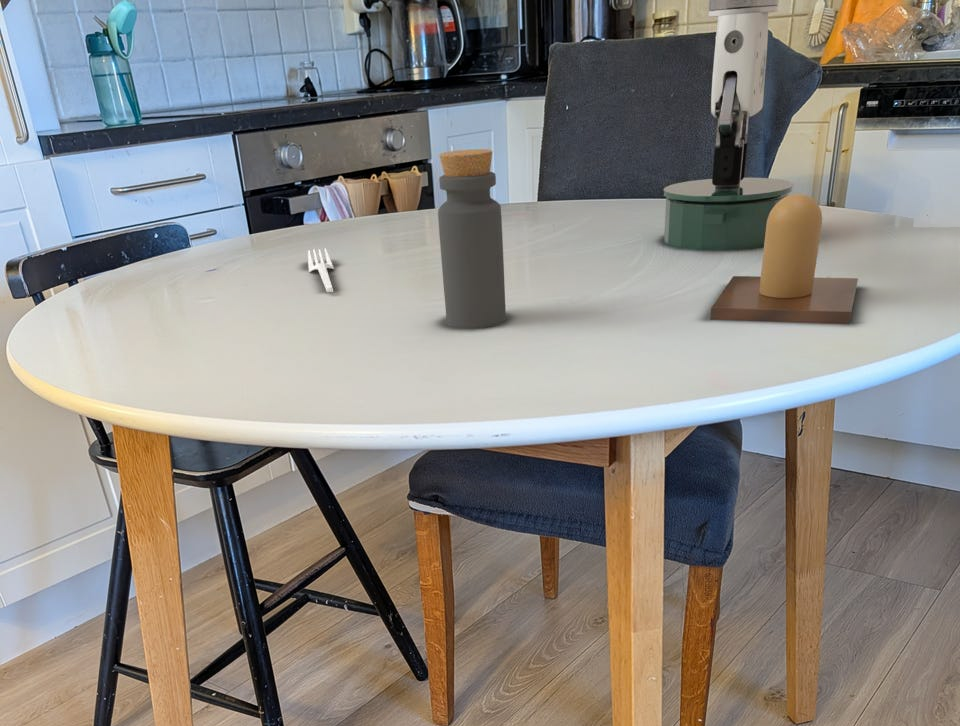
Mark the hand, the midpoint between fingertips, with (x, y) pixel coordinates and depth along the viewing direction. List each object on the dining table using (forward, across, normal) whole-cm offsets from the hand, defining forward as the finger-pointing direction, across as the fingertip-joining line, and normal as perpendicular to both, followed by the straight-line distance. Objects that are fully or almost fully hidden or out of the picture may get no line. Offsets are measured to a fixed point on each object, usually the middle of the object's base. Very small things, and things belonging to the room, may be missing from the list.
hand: (728, 180), depth 108 cm
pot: (+7, 0, 0) cm, 7 cm away
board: (+7, -32, -11) cm, 35 cm away
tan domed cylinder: (+6, -32, -11) cm, 34 cm away
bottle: (+7, -42, +17) cm, 46 cm away
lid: (+1, 0, 0) cm, 1 cm away
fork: (+7, -24, +45) cm, 52 cm away
